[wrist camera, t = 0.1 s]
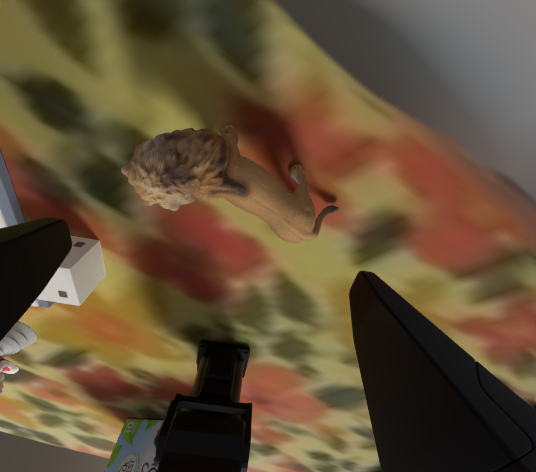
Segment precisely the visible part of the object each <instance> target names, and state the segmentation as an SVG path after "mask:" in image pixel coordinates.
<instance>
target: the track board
mask: <svg viewBox="0 0 536 472" xmlns="http://www.w3.org/2000/svg"><path fill="white" fill-rule="evenodd" d="M25 222H26V221H25V219H24V216H23V213H22V210H21V207H20V204H19V202H18V199H17V196H16V193H15V190H14V188H13V185H12V182H11V179H10V176H9V173H8V171H7V168H6V165H5V162H4V159H3V157H2V154H1V151H0V228H4V227H8V226H13V225H17V224H21V223H25ZM53 303H54V302H52V301H45V300H39V299H36V300H35V301H34V302H33V304H32V305H31V306H35V307H38V306H42V307H48V308H49V307H50V306H51V305H52V304H53Z"/></svg>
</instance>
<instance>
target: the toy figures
mask: <svg viewBox="0 0 536 472" xmlns="http://www.w3.org/2000/svg"><path fill="white" fill-rule="evenodd" d="M18 370H19V368H18V367H17V366H16V365H14V364H13V363H11V362H9V361H6V360H2V361H1V362H0V372H5V373H8V374H14V373H16V372H17V371H18ZM3 379H4V375H2V374H1V373H0V395H1V393H2V391H3V390H4V388H3V382H2V380H3Z"/></svg>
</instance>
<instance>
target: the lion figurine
mask: <svg viewBox="0 0 536 472" xmlns="http://www.w3.org/2000/svg"><path fill="white" fill-rule="evenodd" d="M220 135H221V136H220ZM220 135H218V134H215V133H213V132H211V131H210V130H209V129H207V128H206V129H200V130H196V131H195V130H194V129H193V128H188V129H184V130H175V131H173V132H172V133H164V134H159V135H158V136H156V137H155V138H154V139H151V140H145V141H143V142H142V143H141V144H139V145H137V146H136V148H135V151H134V157H133V158H132V161H131V162H130V163H127V164H125V165H124V166H123V167H122V168H121V172H122V173H123V174H124V175H126V176H127V177H128V181H129V183H130V184H131V185H133V186H134V187H135V191H136V192H137V194H139V198H140V200H141V201H142V203H144V204H145V205H149V206H150V205H152V204H155V203H159V205H160V206H161V207H162V208H165V209H170V210H174V211H176V210H178V209H179V207H180V205H182V204H187V203H192V202H193V201H195V200H205V201H208V200H210V199H212V198H224V199H226V200H227V201H229V202H230V203H232V204H233V205H235V206H237V207H239V208H240V209H242V210H244V211H246V212H248V213H251V214H253V215H255V216H257V217H259V218H261V219H262V220H264V221H265V222H266V223H267V224H268V225H269V226H270V227H271V228H272V229H273V231H274V232H275V233H276V235H277V236H278V237H279V238H281V239H282V240H284V241H287V242H290V243H295V244H296V243H299V242H301V241H310V240H313V239H315V238H316V237H317V236H318V234H319V231H320V227H321V224H322V221H323V219H324V217H325V216H326V215H328V214H330V213H333V212H336V211H338V210H339V207H336V206H333V205H331V206H328V207H326V208H325V209H323V210H322V211H321V213H320V214H319V215H318V217H317V219H316V220H315V208H314V204H313V202H312V200H311V198H310V196H309V191H310V190H309V186H308V183H307V181H306V176H305V171H304V169H303V167H302V166H301V165H300V164H295V165H293V166H292V168H291V169H290V171H289V173H290V175H291V177H292V178H293V179H294V180H296V182H297V183H298V185H299V186H298V187H296V188H295V190H294V192H293V193H288V192H287V191H286V190H285V189H284V188H283V187H282V186H281V184H280V183H279V182H278V181H277V180H276V178H275V177H274V176H273V175H272V174H271V173H270V172H268V171H267V170H266V169H264V168H263V167H262V166H260V165H258V164H257V163H255V162H253V161H251V160H250V159H248V158H246V157H243V156H241V155H240V153H239V150H238V147H237V144H238V134H237V131H236V128H235V127H234V126H233V125H225V126H224V127H223V128H222V130H221V133H220Z"/></svg>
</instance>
